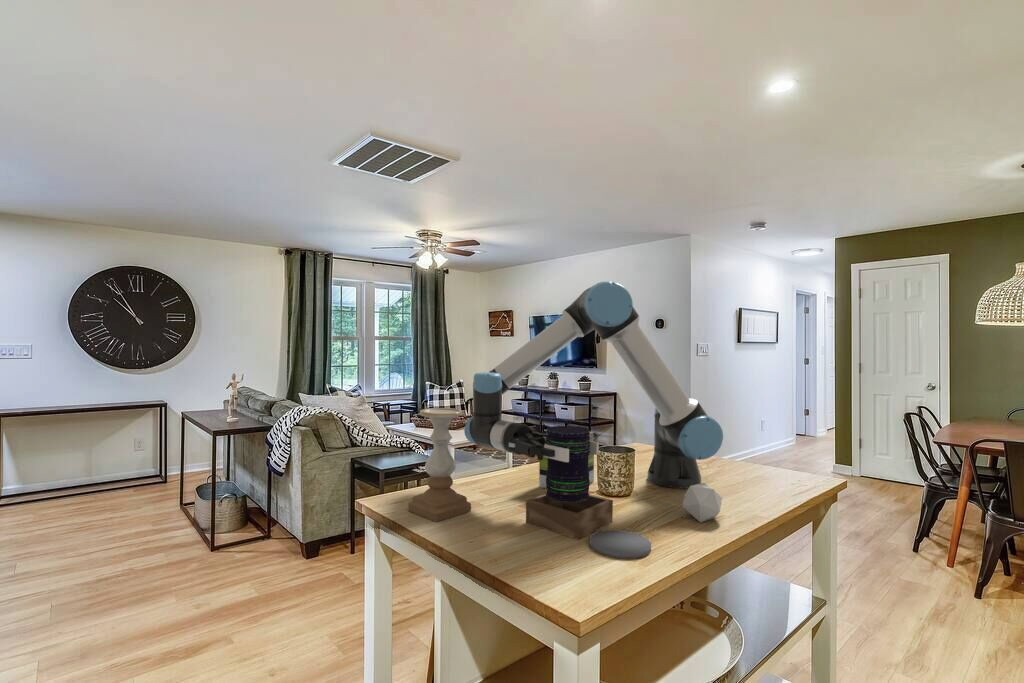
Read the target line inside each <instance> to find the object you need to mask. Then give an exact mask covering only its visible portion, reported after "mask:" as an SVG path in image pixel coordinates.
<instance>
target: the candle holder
mask: <svg viewBox="0 0 1024 683" xmlns="http://www.w3.org/2000/svg"><path fill="white" fill-rule="evenodd" d="M419 415H420V416H421V417H425V418H429V421H430V423H431V424H432V426H433V431H432V433H431V435H430V436H429V439H430V440H431V443H432V444H433V449H432V452H431V453H430V454H429V456H428V458H427V460H426V461H425V464H424V471H425V472H426V474H428V475H429V477H428V479H427V481H426V485H427V486H428V489H426V490H425V491H424V492H422V493H420V494H416V495H414V496H412V500H411V501H409V502H408V504H407V511H408V512H410V513H412V514H414V515H418V516H419V517H422V518H424V519H428V520H430V521H432V522H437V523H438V522H440V521H443V520H447V519H450V518H453V517H457V516H460V515H463V514H466V513H469V512H471V511H472V503H471V502H469V501H468V498H467V496H465V495H463V494H460V493H458V492H457V491H456V490H454V489H453V488H452V487H451V486H453V485H454V484H453V483H454V481H453V478H452V477H451V475H453V474H454V472H455V471H456V469H457V467H456V466H457V465H456V462H455V459H454V457H453V456H452V454H451V453H450V450H449V444H450V442H451V441H450V440H452V439H453V437H452V435H451V434H450V431H449V427H450V425H451V423H452V422H453V419H454V418H457V417H461V416H463V415H464V411H463V409H459V408H452V407H450V408H449V407H431V408H430V407H429V408H422V409H421V410H419Z"/></svg>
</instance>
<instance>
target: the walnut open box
mask: <svg viewBox="0 0 1024 683" xmlns="http://www.w3.org/2000/svg"><path fill="white" fill-rule="evenodd" d="M525 502H526V503H525V523H526V524H529V525H532V526H535V527H537V528H541V529H544V530H546V531H550V532H553V533H557V534H559V535H564V536H566V537H569V538H573V539H576V540H580V539H582V538H584V537H586V536H588V535H590V534H593V532H594V533H595V532H597V531H598V530H600V529H601V528H604V527H606V526H608V525H609V524H612V523H613V520H614V519H613V518H614V517H613V516H614V515H613V511H614V506H613V505H614V500H613V499H609V498H605V497H601V496H598V495H594V494H589V498H588V499H587V500H585V501H581V502H560V501H555V500H552V499H550V498H548V497H547V496H546V493H543V494H540V495H538V496H535V497H533V498H530V499H527V500H526V501H525Z"/></svg>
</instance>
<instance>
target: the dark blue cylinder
mask: <svg viewBox="0 0 1024 683" xmlns="http://www.w3.org/2000/svg"><path fill="white" fill-rule="evenodd" d="M546 432H547V433H548V435H547V440H546V441H547V442H546V444H547V445H552V446H556V447H561V448H566V449H569V462H563V461H559V460H554V459H550V458H548V469H547V471H546V477H547V478H546V488H547V489H546V488H545V489H546V493H545V494H546V496H547V497H548V498H550V499H552V500H555V501H560V502H581V501H585V500H587V499H588V498H589V493H590V492H589V491H590V484H591V482H590V480H589V471H588V456H589V454H590V448H589V447H590V436H589V434H590V432H591V430H590V429H589V428H587V427H582V426H576V425H555V426H550V427H547V428H546Z"/></svg>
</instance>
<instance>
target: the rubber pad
mask: <svg viewBox="0 0 1024 683" xmlns="http://www.w3.org/2000/svg"><path fill="white" fill-rule="evenodd" d="M589 546H590V548H591V549H593V551H594V552H596V553H599V554H601V555H604V556H606V557H611V558H616V559H624V560H625V559H628V560H629V559H630V560H631V559H639V558H643V557H646V556H648V555H649V554H650V553H651V551H652V543H651V541H650V540H649V538H647V537H646V536H643V535H641V534H638V533H636V532H634V531H633V532H632V531H627V530H623V529H622V530H621V529H620V530H619V529H607V530H599V531H595V532H594V533H591V535H590V536H589Z"/></svg>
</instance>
